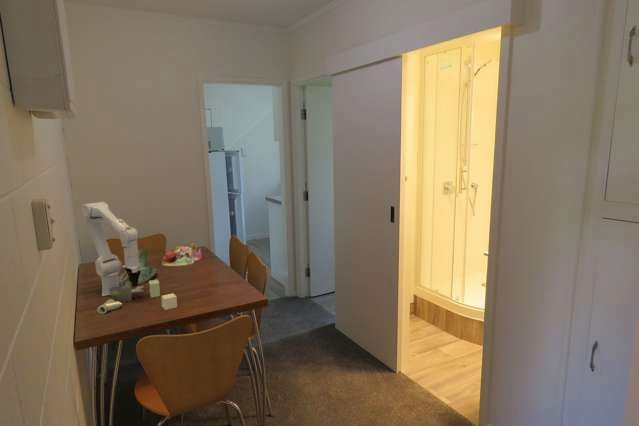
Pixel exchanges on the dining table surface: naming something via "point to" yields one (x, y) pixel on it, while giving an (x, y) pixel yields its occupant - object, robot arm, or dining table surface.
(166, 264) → the toy food platter
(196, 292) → the dining table surface
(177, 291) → the dining table surface
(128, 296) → the grey boxy piece
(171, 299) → the cream white cube
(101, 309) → the pipe fitting
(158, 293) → the socket block
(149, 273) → the tree stump
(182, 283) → the dining table surface
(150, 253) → the dining table surface
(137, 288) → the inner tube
